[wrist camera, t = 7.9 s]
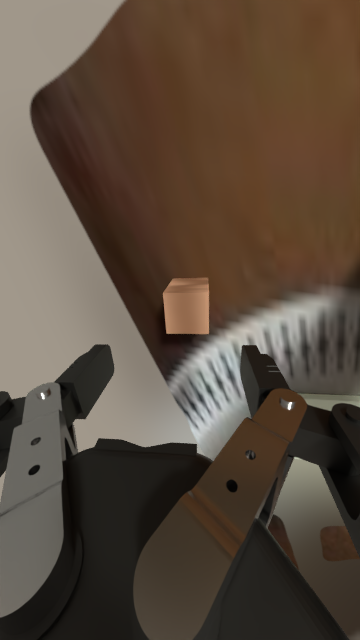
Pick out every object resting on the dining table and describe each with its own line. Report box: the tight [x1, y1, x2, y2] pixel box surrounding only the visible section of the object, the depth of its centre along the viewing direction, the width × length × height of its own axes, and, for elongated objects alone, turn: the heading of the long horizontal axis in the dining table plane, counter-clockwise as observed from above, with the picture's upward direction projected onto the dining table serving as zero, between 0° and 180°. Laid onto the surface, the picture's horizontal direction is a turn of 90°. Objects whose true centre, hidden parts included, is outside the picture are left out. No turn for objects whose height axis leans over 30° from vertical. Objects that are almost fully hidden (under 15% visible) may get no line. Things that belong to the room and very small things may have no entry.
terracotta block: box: [163, 278, 209, 334], centre depth 21 cm, size 4×4×6 cm
